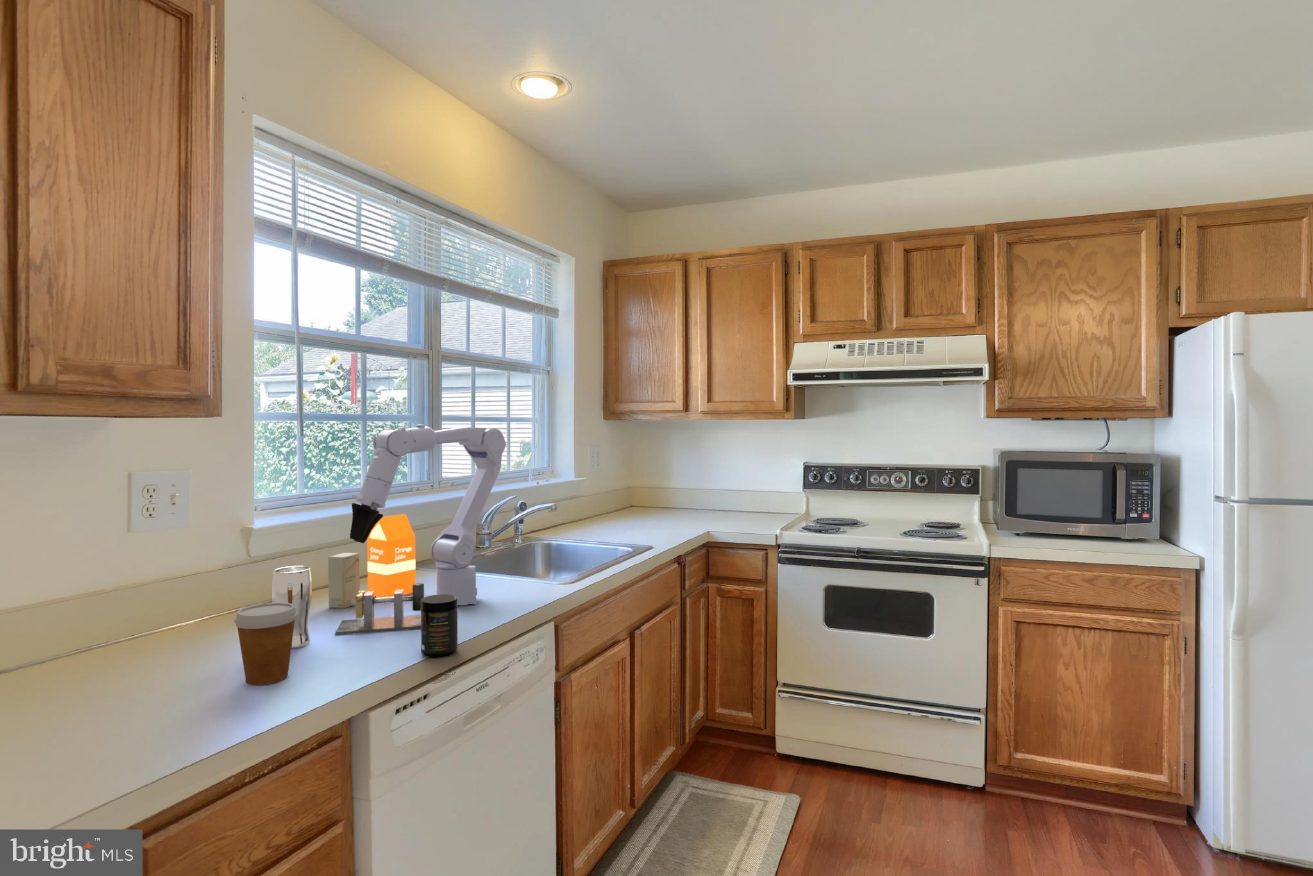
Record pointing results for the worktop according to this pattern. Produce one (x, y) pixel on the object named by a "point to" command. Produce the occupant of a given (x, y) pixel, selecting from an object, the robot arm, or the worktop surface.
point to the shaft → (403, 597)
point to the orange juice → (391, 556)
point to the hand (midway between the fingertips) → (356, 541)
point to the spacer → (360, 604)
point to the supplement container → (439, 625)
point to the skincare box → (343, 579)
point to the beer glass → (295, 598)
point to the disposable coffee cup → (266, 641)
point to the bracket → (380, 623)
